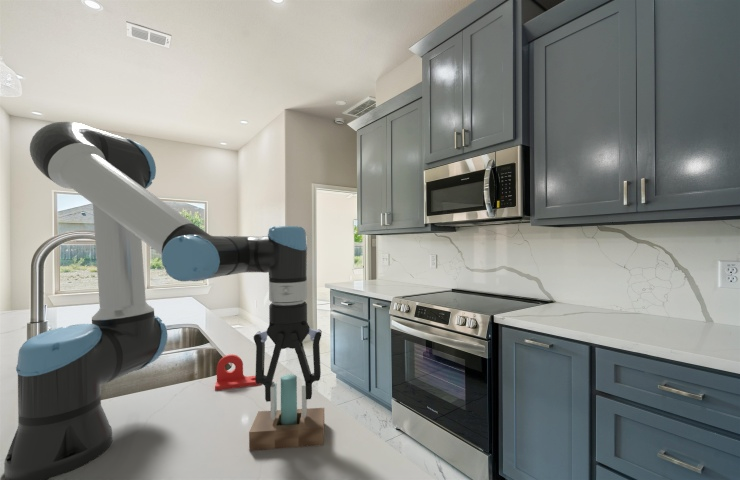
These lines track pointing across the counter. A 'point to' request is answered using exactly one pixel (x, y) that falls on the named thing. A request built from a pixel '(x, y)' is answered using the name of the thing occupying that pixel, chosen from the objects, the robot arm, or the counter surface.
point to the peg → (289, 400)
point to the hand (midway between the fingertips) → (289, 415)
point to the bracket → (232, 374)
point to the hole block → (287, 430)
